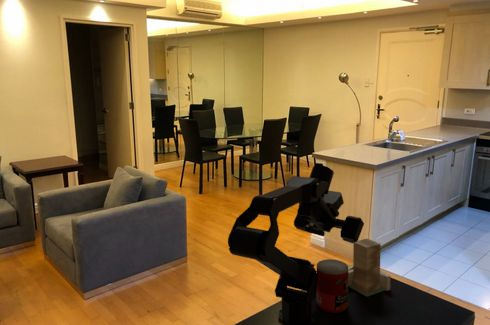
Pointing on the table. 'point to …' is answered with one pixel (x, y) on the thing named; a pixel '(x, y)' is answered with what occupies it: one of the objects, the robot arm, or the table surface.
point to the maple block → (366, 265)
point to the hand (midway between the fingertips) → (338, 238)
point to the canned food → (332, 285)
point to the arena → (383, 286)
